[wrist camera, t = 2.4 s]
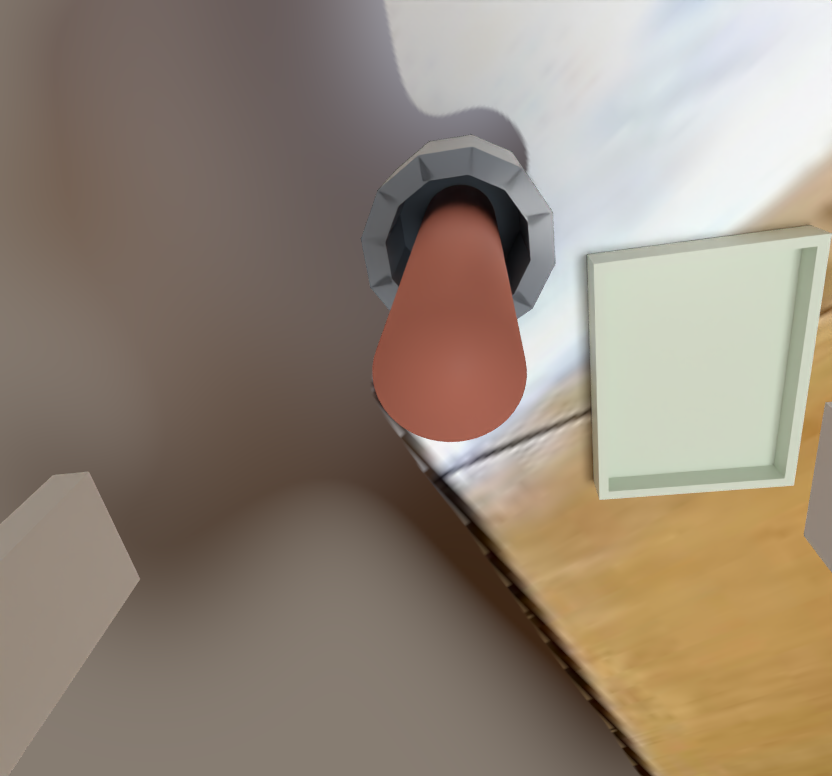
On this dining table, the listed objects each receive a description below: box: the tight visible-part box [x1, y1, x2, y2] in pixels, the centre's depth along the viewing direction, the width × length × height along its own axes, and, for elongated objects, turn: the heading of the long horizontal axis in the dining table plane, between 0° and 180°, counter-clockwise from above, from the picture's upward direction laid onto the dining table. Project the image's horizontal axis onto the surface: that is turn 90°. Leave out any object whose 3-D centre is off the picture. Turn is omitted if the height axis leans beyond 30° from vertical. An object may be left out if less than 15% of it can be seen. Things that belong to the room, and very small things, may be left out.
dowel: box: [373, 185, 527, 442], centre depth 24 cm, size 4×4×20 cm
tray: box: [587, 225, 832, 500], centre depth 36 cm, size 16×12×2 cm
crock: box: [361, 134, 555, 319], centre depth 31 cm, size 9×9×8 cm
